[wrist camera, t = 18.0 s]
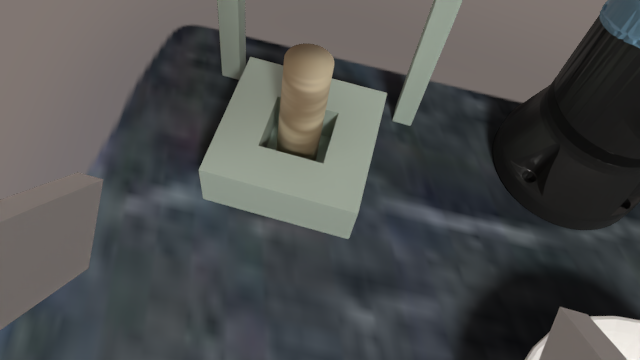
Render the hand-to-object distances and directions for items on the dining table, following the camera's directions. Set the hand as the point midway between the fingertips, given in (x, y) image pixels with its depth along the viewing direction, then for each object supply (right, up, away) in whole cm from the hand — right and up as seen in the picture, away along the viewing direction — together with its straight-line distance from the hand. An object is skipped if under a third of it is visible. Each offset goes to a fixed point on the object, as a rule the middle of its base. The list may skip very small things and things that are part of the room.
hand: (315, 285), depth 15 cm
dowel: (-2, +6, +37) cm, 37 cm away
